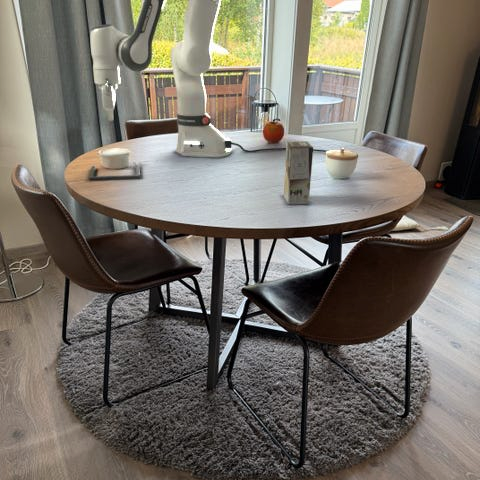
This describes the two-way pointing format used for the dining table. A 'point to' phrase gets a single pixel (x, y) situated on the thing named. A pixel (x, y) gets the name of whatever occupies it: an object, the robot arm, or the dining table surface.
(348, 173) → the trinket box
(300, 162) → the coffee box
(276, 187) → the dining table surface
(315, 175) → the dining table surface
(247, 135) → the dining table surface
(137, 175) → the bay
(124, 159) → the ramekin
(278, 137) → the fruit
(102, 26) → the robot arm
